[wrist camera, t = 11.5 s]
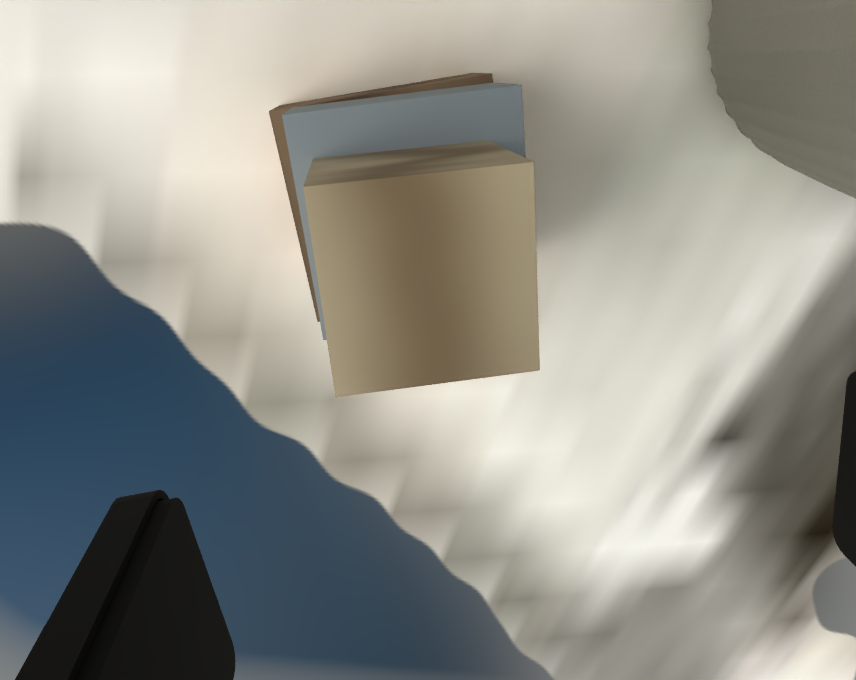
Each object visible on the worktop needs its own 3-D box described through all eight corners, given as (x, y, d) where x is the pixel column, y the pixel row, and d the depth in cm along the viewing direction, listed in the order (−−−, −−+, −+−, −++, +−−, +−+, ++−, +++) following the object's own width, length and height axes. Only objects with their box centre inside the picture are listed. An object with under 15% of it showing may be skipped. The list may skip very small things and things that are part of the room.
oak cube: (488, 140, 23) (533, 162, 18) (496, 305, 26) (539, 370, 20) (312, 158, 23) (302, 186, 17) (337, 325, 25) (335, 397, 20)
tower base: (470, 73, 32) (491, 73, 27) (492, 257, 35) (515, 285, 31) (279, 105, 31) (268, 111, 27) (321, 288, 35) (317, 322, 30)
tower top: (491, 82, 27) (521, 85, 23) (504, 272, 30) (534, 309, 26) (292, 107, 27) (281, 115, 22) (326, 298, 30) (323, 340, 25)
